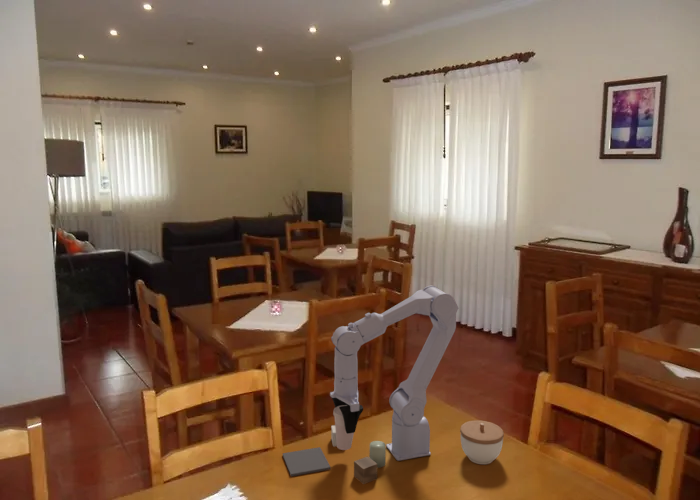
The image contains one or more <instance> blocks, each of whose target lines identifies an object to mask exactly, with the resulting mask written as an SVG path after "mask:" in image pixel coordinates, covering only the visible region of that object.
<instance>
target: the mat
mask: <svg viewBox="0 0 700 500" xmlns="http://www.w3.org/2000/svg"><path fill="white" fill-rule="evenodd" d="M282 457H283V460H284V462H285V465H286V468H287V471H288V473H289V476H290V477H295V476H302V475H307V474H312V473H317V472H323V471H329V470H331V468H332V467H331V465H330V463H329V461H328V459H327V458H326V456H325V453H324V452H323V450H322V448H321V446H320V447H313V448H306V449H302V450H295V451H290V452H289V451H288V452H284V453H282Z"/></svg>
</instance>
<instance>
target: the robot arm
mask: <svg viewBox="0 0 700 500" xmlns="http://www.w3.org/2000/svg"><path fill="white" fill-rule="evenodd" d="M458 310H459V306H458V304H457V302H456V300H455V298H454V297H453V296H452V294H450V293H447V292H444V291H443V290H441V289H440V288H439V287H437V286H435V285H427V286H425V287H424V288H422V289H419V290H416V291H415V292H414V293H413V294H412V295H411V296H409V297H407V298H405V299H404V300H403V301H400V302H399V303H397V304H396V305H394V306H392V307H391V308H389V309H387V310H385V311H384V312H382V313H377V312H372V313H370V312H367V313H365V314H364V317H362V318H360V319H359V320H356V321H354V322H349V323H348V324H347V325H346V326H344V325H342V326H339V327H337V328H336V329H335V330H334V331H333V332H332V336H331V337H330V339H331V342H332V344H333V345H334V346H335V347H334V358H333V359H334V363H333V365H334V367H333V368H334V381H333V385H334V386H333V387H334V388H333V389H334V390H333V391H330V392H329V396H330V398H331V400H332V401H333V405H334V408H336V407H337V406H341V405H347V406H341V407H339V409H340V410H341V412H342V415H343V418H344V424H345V430H346V433H347V434H349V433H354V434H355V433H356V429H357V425H358V421H359V419H360V417H361V415H362V413H363V412H364V406H363V405H361V404H360V402H359V390H358V389H359V388H358V386H359V385H358V381H359V380H358V351H359V350H361V349H360V348H361V346H363V345H364V344H366V343H368V342H370V341H372V340H374V339H376V338H378V337H380V336H381V335H383V334H385V333H386V330H387V328H388V326H391V325H393V324H395V323H398V322H399V321H402V320H404V319H406V318H408V317H410V316H413V315H414V314H418V315H423V316H429V319H430V322H431V323H432V328H431V330H430V332H429V334H428V336H427V338H426V341H425V343H424V345H423V346H422V349H421V350H420V352H419V354H418V356H417V359H416V361H415V362H414V365H413V366H412V369H411V371H410V372H409V375H408V376H407V379H405V380H403V381H402V382H399V384H398V387H397V388H396V389H395V390H394V391H392V393H391V394H390V396H389V402H388V403H389V405H390V407H391V409H393V412H392V416H391V443H385V445H386V449H388V450H389V451H390V453H391V455H392V456H393V457H394V458H395V460H396V461H404V460H410V459H416V458H420V457H426V456H430V455H432V454H431V451H430V446H431V445H430V443H431V438H430V437H431V429H430V424H429V421H428V419H427V418H426V416H425V406H426V405H427V393H426V391H427V388H428V386H429V384H430V383H431V380H432V378H433V376H434V374H435V372H436V371H437V368H438V366H439V365H440V362H441V360H442V358H443V356H444V354H445V352H446V350H447V348H448V346H449V344H450V342H451V340H452V338H453V336H454V333H455V332H456V329H457V312H458Z"/></svg>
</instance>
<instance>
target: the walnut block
mask: <svg viewBox="0 0 700 500" xmlns="http://www.w3.org/2000/svg"><path fill="white" fill-rule="evenodd" d="M353 477H354V478H355V479H356V480H358V481H359V482H360V483H361V484H362V485H365V484H367V483H370V482H371V483H372V482H373V481H375V480H378V468H377V463H375V462H374V461H373V460H372V459H370V456H365V457H363V458H359V459H357V460H354V461H353Z"/></svg>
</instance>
